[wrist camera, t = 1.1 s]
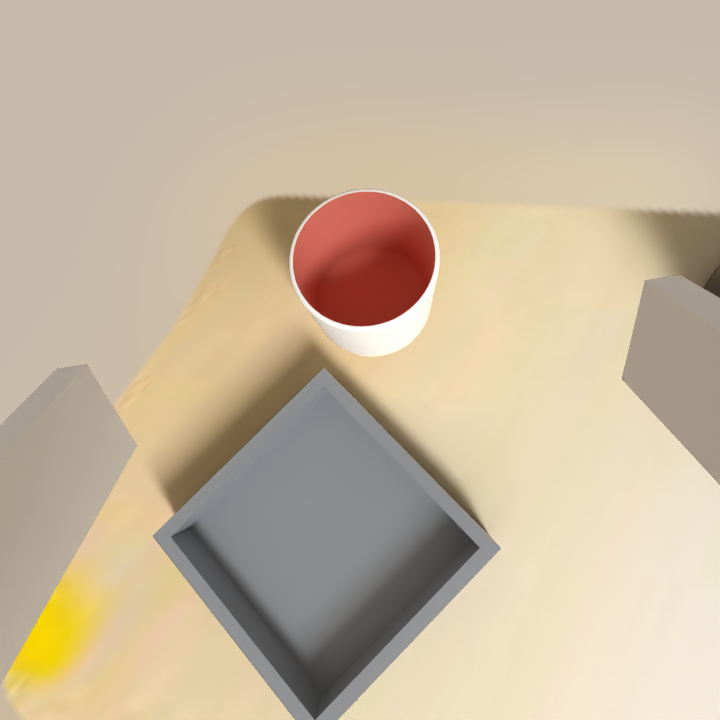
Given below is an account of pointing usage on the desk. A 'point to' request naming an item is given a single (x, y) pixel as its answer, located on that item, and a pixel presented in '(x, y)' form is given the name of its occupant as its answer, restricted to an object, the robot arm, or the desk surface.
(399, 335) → the cup
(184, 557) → the tray
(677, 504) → the desk surface
